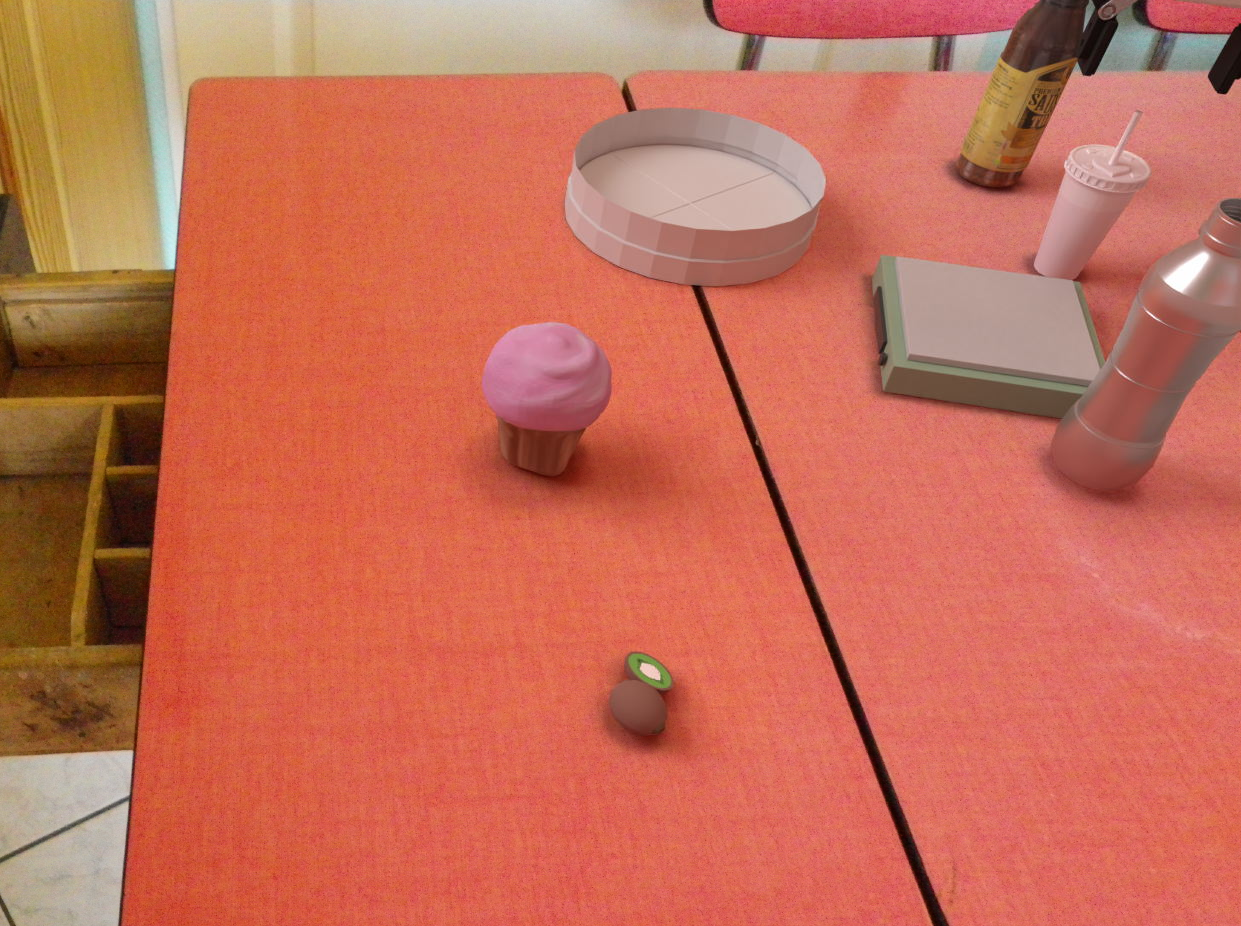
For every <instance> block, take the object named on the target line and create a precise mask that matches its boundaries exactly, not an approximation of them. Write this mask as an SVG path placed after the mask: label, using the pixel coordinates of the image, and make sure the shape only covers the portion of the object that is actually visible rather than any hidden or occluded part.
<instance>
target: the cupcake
mask: <svg viewBox="0 0 1241 926" xmlns="http://www.w3.org/2000/svg"><path fill="white" fill-rule="evenodd" d="M612 374H613V372H612V366H611V362H610V360H609V359H608V358H607V354H606V353H605V351H604V350H603V348H601V346H600V345H599V344H598V343H597V342H596V341H595V340H593V339H592V338H591V337H590V336H589V335H587V333H585V332H583V331H582V330H581V329H579V328H577V327H575V326H573V325H570V324H568V323H564V322H559V321H558V322H557V321H548V322H540V323H534V324H533V323H532V324H523V325H519V326H517V327H514V328H512V329H510V330H508V331H506V333H505V334H503V336H502V337H501V338H499V340H498V341H497V342H496V343H495V345H494V347H493V348H492V349H491V352H490V354H489V356H488V358H487V360H486V362H485V364H484V370H483V372H482V378H481V383H480V385H481V392H482V394H483V397H484V399H485V401H486V403H487V405H488V406H489V408H490V409H491V410H492V412H493V413H494V414H495V419H496V421H497V430H498V432H497V433H498V439H499V446H500V451H501V455H502V457H503V458H504V459H505V461H507V463H509V464H510V465H512V466H514V467H518V468H521V469H524V470H527V471H530V472H533V473H536V474H540V475H543V476H548V477H554V476H557V475H561V474H562V473H563V472H564V471H565V469H566V468H567V465H568V463H569V461H570V460H571V458H572V457H573V455H574V452H575V450H576V448H577V445H579V442H580V440H581V438H582V437H583V435H584V433H585V432H586V430H587V428H588V427H591V426H592V425H593V424H594V423H595V422H596V420H598V419H599V417H600V416H601V415H602V414H603V412H604V411H605V410H606V409H607V407H608V405H609V403H610V400H611V396H612V392H613V390H612V389H613V385H612Z"/></svg>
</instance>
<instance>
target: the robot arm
mask: <svg viewBox="0 0 1241 926" xmlns="http://www.w3.org/2000/svg"><path fill="white" fill-rule="evenodd" d="M1138 1H1139V0H1091V2H1092V4H1093V6H1094V9H1093V11H1092V13H1091V15H1090V17H1089V20H1088V22H1087V24H1086V26H1085V27H1084V30H1083V34H1082V36H1081V38H1080V41H1079V43H1078V45H1077V47H1076V51H1075V56H1076V58H1078V59H1077V64H1078V65H1077V66H1078V67H1079V69H1080V72H1081V75H1082V76H1083V77H1092V76H1094V75H1095V74H1096V73H1097V70H1098V68H1099V67H1100V64H1101V62H1102V60H1103V59H1104V56H1105V54H1106V53H1107V50H1108V48H1109V47H1110V45H1111V43H1112V40H1113V38H1114V36H1115V34H1116V32H1117V29H1118V28H1119V21H1118V19H1117V16H1118V15H1119V14H1120V13H1122V12H1123V11H1124V10H1126V9H1128V8H1130V7H1131V6H1132V5H1133V4H1135V3H1136V2H1138ZM1173 1H1175V2H1181V3H1191V4H1198V5H1207V6H1215V7H1223V8H1228V9H1229V8H1231V9H1240V10H1241V0H1173ZM1207 79H1208V81H1209V82H1210V85H1211V86H1212V88H1213V90H1214V91H1215V92H1216V94H1217V95H1227V94H1228V93H1229V91H1230V90H1231V88H1232V86H1233V85H1234V83H1235V81H1236V80H1237V81H1239V80H1240V79H1241V22H1239V23H1238V25H1236V26H1234V28H1233V30H1232V31H1231V32H1230V34H1229V37H1228V38H1227V40H1226V42H1225V43H1224V45H1223V47H1222V49H1221V51H1220V52H1219V54H1218V56H1217V57H1216V60H1215V61H1214V63H1213V65H1212V66H1211V68H1210V70H1209V72H1208V74H1207Z"/></svg>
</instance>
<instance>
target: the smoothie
mask: <svg viewBox="0 0 1241 926" xmlns="http://www.w3.org/2000/svg"><path fill="white" fill-rule="evenodd" d="M1142 115H1143V111H1142V110H1138V109H1135V111H1134V112H1133V114H1132V116H1131V118H1130V120H1129V121H1128V124H1127V126H1126V128H1125V130H1124V132H1123V134H1122V136H1121V138H1120V139H1119V141H1118V143H1117V145H1116V146H1112V145H1107V144H1097V143H1095V144H1094V143H1092V144H1083V145H1079V146H1076V147H1074V148H1072V150H1071V151H1069V154H1068V156H1067V158H1066V160H1065V161H1064V163H1063V167H1064V170H1065V172H1064V174H1063V178H1062V180H1061V183H1060V185H1059V189H1058V192H1057V195H1056V198H1055V201H1054V203H1053V207H1052V209H1051V212H1050V215H1049V219H1048V221H1047V224H1046V228H1045V230H1044V233H1043V236H1042V239H1041V241H1040V244H1039V247H1038V250H1037V253H1036V255H1035V258H1034V262H1033V268H1034V269H1035V271H1037V273H1039V274H1040V275H1041V276H1044V277H1051V278H1059V279H1066V280H1073V281H1074V280H1075V279H1077V277H1079V275H1080V274H1081V272H1082V271H1083V270H1084V268H1085V267H1086V265H1087V264H1088V262H1089V261H1090V260H1091V259H1092V256H1093V255H1094V254H1095V253H1096V251H1097V249H1098V248H1099V247H1100V245H1101V243H1103V241H1104V240H1105V238H1106V237H1107V235H1108V234H1109V233H1110V231H1111V230H1112V228H1113V227H1114V226H1115V224H1116V223H1117V222H1118V220H1119V218H1120V217H1121V216H1122V214H1123V213H1124V211H1125V210H1126V208H1127V207H1128V206H1129V204H1130V203H1131V201H1132V200H1133V198H1134V197H1135V196H1136V194H1137V193H1138V192H1139V191H1142V190H1144V189H1145V188H1146V186H1148V182H1149V180H1150V178H1151V176H1152V174H1153V170H1152V167H1151V165H1149V163H1148V162H1147V161H1146V160H1145V159H1144V158H1142V157H1140V156H1139V155H1138V154H1135V153H1134V152H1131V151H1129V150H1127V149H1125V148H1126V146H1127V144H1128V142H1129V140H1130V138H1131V136H1132V134H1133V132H1134V131H1135V128H1136V127H1137V125H1138V123H1139V121H1140V119H1141V117H1142Z"/></svg>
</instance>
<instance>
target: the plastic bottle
mask: <svg viewBox="0 0 1241 926" xmlns="http://www.w3.org/2000/svg"><path fill="white" fill-rule="evenodd" d="M1197 233H1198V236H1199V237H1198V238H1196V239H1194V240H1192V241H1190V242H1187V243H1184V244H1182V245H1180V246H1178V247H1177V248H1175V249H1173V250H1171V251H1169V252H1168V253H1166V254H1164V255H1163V256H1161V257H1159V259H1157V260H1156V261H1155V262H1154V263H1153V264H1152V265H1151V266H1150V267H1149V268H1148V269H1147V271H1146V272H1145V274H1144V276H1143V278H1142V280H1141V282H1140V284H1139V286H1138V290H1137V292H1136V294H1135V296H1134V299H1133V301H1132V304H1131V307H1130V309H1129V312H1128V315H1127V317H1126V319H1125V322H1124V325H1123V327H1122V329H1121V331H1120V333H1119V335H1118V336H1117V339H1116V340H1115V343H1114V344H1113V348H1112V349H1111V351H1110V353H1109V354H1108V357H1107V358H1106V359H1105V364H1104V365H1103V367H1102V368H1101V370H1100V371H1099V373H1098V374H1097V375H1096V377H1095V378H1094V380H1093V381H1092V382H1091V384H1090V385H1089V387H1088V388H1087V390H1086V391H1085V392H1084V394H1083V395H1082V397H1081V398H1080V399H1079V400H1077V401H1076V403H1075V404H1074V405H1073V406H1072V407H1071V408H1070V409H1069V410H1068V412H1067V413H1066V414H1065V415H1064V417H1063V418H1062V419H1061V418H1060V420H1059V422H1058V423H1057V425H1056V428H1055V431H1054V433H1053V436H1052V439H1051V443H1050V450H1051V455H1052V459H1053V462H1054V464H1055V466H1056V468H1057V469H1058V470H1059V472H1061V473H1062V474H1063V475H1064V476H1066V478H1068V479H1070V480H1071V481H1072V482H1074V483H1076V484H1078V485H1081V486H1083V487H1085V488H1088V489H1091V490H1095V491H1101V492H1116V491H1121V490H1124V489H1127V488H1129V487H1132V486H1134V485H1136V484H1137V483H1139V481H1141V480H1142V478H1144V476H1145V475H1147V474H1148V473H1149V471H1151V470H1152V468H1153V467H1154V466H1155V464H1156V461H1157V460H1158V458H1159V456H1160V453H1161V451H1162V449H1163V447H1164V444H1165V441H1166V438H1167V434H1168V432H1169V430H1170V428H1171V427H1172V425H1173V423H1174V421H1175V419H1176V417H1177V414H1179V411H1180V409H1181V408H1182V405H1184V402H1185V400H1186V399H1187V397H1188V395H1189V394H1190V392H1191V391H1192V390H1193V389H1194V387H1195V386H1196V385H1197V382H1199V380H1200V379H1201V378H1202V376H1203V375H1204V374H1205V372H1206V371H1207V370H1208V368H1209V367H1210V366H1211V365H1212V363H1213V362H1214V360H1216V359H1217V357H1219V355H1220V354H1221V353H1222V352H1223V351H1224V350H1225V348H1226V347H1227V346H1228V345H1229V344H1230V342H1232V340H1233V339H1234V338H1235V337H1236V336H1237V335H1238V334H1239V333H1240V332H1241V197H1226V198H1223V199H1220V200H1219V201H1218V203H1216V204H1215V206H1214V208H1213V209H1212V211H1211V213H1210V214H1209V215H1208V217H1207V219H1205V220H1203V222H1202V223H1201V225H1200V227H1199V229H1198V230H1197Z"/></svg>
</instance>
